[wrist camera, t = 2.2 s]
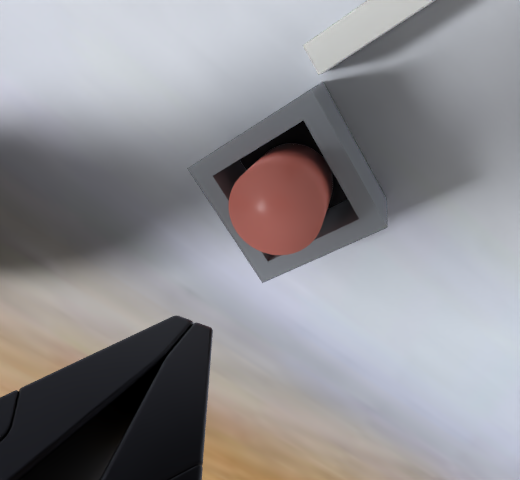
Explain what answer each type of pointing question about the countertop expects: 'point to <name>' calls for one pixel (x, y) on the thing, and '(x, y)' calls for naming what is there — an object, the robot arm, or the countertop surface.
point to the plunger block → (338, 158)
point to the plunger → (282, 199)
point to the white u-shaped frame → (359, 30)
